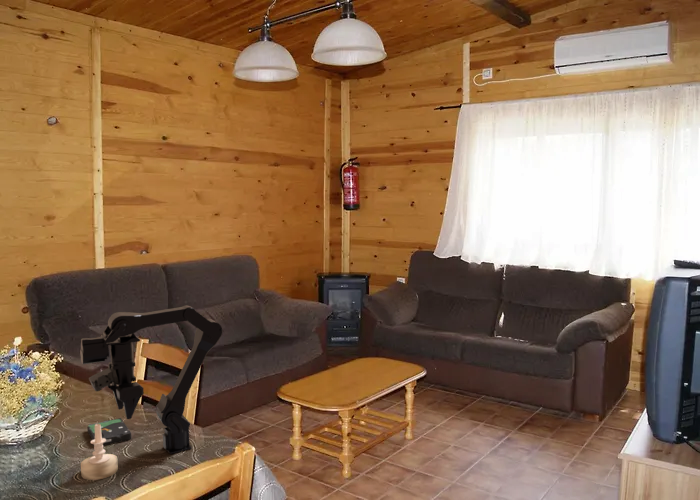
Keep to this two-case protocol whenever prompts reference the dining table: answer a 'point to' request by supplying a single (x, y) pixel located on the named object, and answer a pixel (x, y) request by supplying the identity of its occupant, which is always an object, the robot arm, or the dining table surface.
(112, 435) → the disk drive
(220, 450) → the dining table surface
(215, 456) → the dining table surface
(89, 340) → the robot arm
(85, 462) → the stand
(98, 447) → the candle
